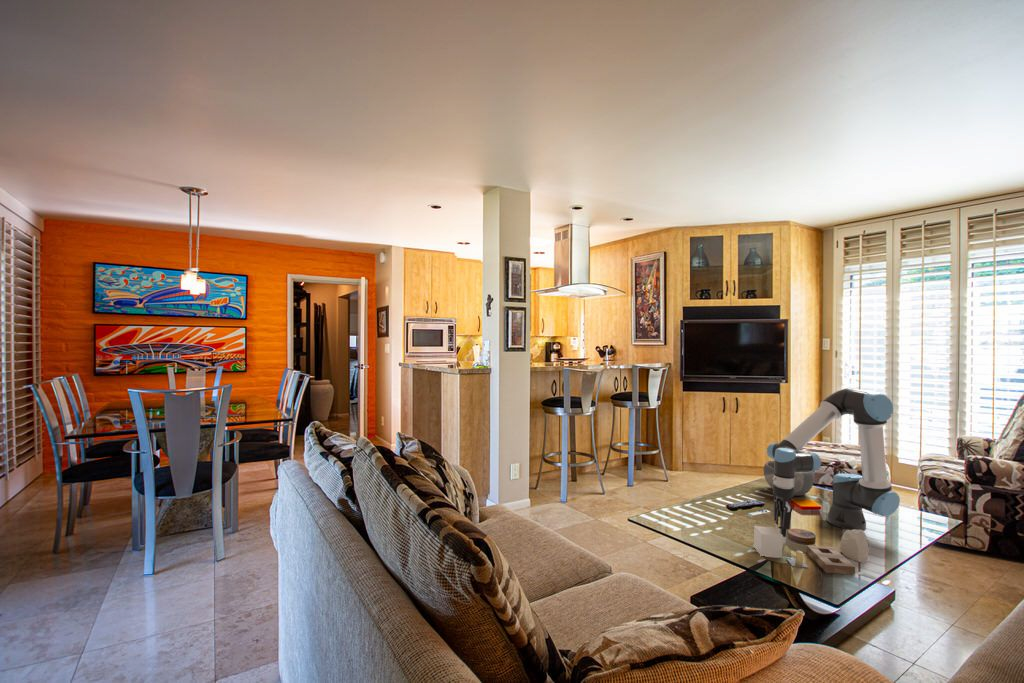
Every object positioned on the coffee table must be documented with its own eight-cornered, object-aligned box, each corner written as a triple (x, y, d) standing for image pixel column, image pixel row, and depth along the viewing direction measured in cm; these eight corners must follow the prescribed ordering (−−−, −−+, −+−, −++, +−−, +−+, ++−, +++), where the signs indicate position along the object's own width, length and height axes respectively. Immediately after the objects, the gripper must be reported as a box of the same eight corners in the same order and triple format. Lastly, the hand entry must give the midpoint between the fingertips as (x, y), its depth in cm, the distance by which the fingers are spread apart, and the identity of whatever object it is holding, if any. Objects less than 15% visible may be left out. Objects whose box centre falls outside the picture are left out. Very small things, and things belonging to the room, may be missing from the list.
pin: (782, 544, 209) (784, 516, 208) (785, 547, 206) (786, 518, 206) (776, 543, 209) (777, 515, 209) (778, 546, 206) (779, 518, 206)
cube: (774, 548, 204) (775, 527, 204) (781, 558, 196) (783, 535, 196) (753, 547, 205) (754, 525, 205) (760, 556, 197) (761, 534, 197)
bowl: (771, 498, 263) (772, 470, 262) (756, 483, 287) (757, 458, 286) (821, 502, 259) (823, 474, 258) (802, 487, 283) (804, 461, 282)
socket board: (806, 552, 202) (806, 545, 202) (833, 554, 200) (833, 547, 200) (825, 572, 186) (826, 564, 186) (854, 574, 185) (855, 566, 184)
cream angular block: (801, 561, 194) (802, 547, 194) (808, 568, 189) (809, 554, 189) (786, 559, 195) (787, 546, 195) (792, 566, 190) (793, 552, 189)
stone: (837, 552, 202) (838, 524, 202) (846, 551, 204) (848, 523, 204) (862, 564, 193) (863, 535, 192) (871, 562, 194) (873, 533, 194)
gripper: (767, 479, 215) (764, 533, 216) (781, 491, 200) (778, 549, 201) (785, 480, 214) (782, 534, 215) (801, 493, 199) (798, 551, 200)
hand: (780, 541), depth 208 cm, fingers closed on pin, 2 cm apart
